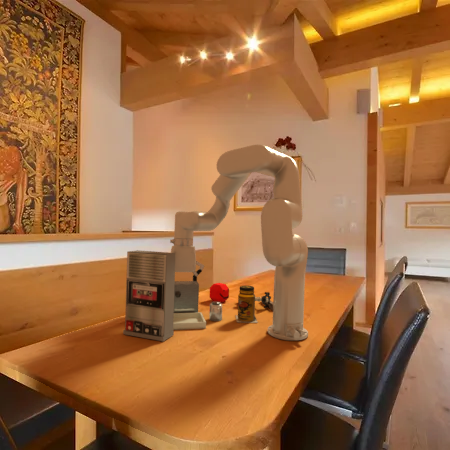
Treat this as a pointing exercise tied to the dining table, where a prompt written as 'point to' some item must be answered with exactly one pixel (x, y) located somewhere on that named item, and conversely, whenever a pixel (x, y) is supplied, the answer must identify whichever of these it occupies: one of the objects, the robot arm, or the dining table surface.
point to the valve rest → (269, 304)
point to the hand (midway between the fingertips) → (181, 285)
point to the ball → (219, 292)
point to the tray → (188, 321)
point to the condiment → (246, 305)
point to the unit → (186, 296)
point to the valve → (264, 299)
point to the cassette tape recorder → (150, 294)
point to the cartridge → (215, 311)
